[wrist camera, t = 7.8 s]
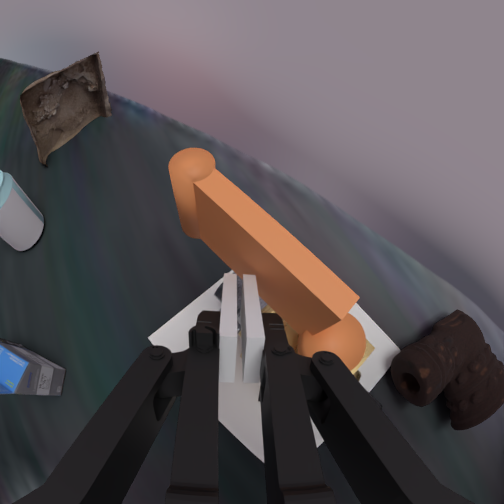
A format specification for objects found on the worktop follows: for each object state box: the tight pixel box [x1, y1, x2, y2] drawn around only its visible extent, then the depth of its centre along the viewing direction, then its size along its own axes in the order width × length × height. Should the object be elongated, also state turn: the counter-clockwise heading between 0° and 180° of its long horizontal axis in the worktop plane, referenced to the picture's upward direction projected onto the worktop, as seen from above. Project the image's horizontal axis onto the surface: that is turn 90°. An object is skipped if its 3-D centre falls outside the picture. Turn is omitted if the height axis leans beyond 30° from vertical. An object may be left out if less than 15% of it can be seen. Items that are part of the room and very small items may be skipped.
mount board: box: [148, 270, 401, 463], centre depth 31 cm, size 22×21×1 cm
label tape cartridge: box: [0, 338, 66, 396], centre depth 22 cm, size 9×4×12 cm, turn 78°
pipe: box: [391, 310, 504, 430], centre depth 28 cm, size 10×15×15 cm
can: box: [0, 170, 44, 251], centre depth 29 cm, size 7×7×12 cm
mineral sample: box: [20, 52, 112, 167], centre depth 36 cm, size 17×4×15 cm, turn 142°
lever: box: [169, 148, 366, 371], centre depth 18 cm, size 17×4×7 cm, turn 45°
